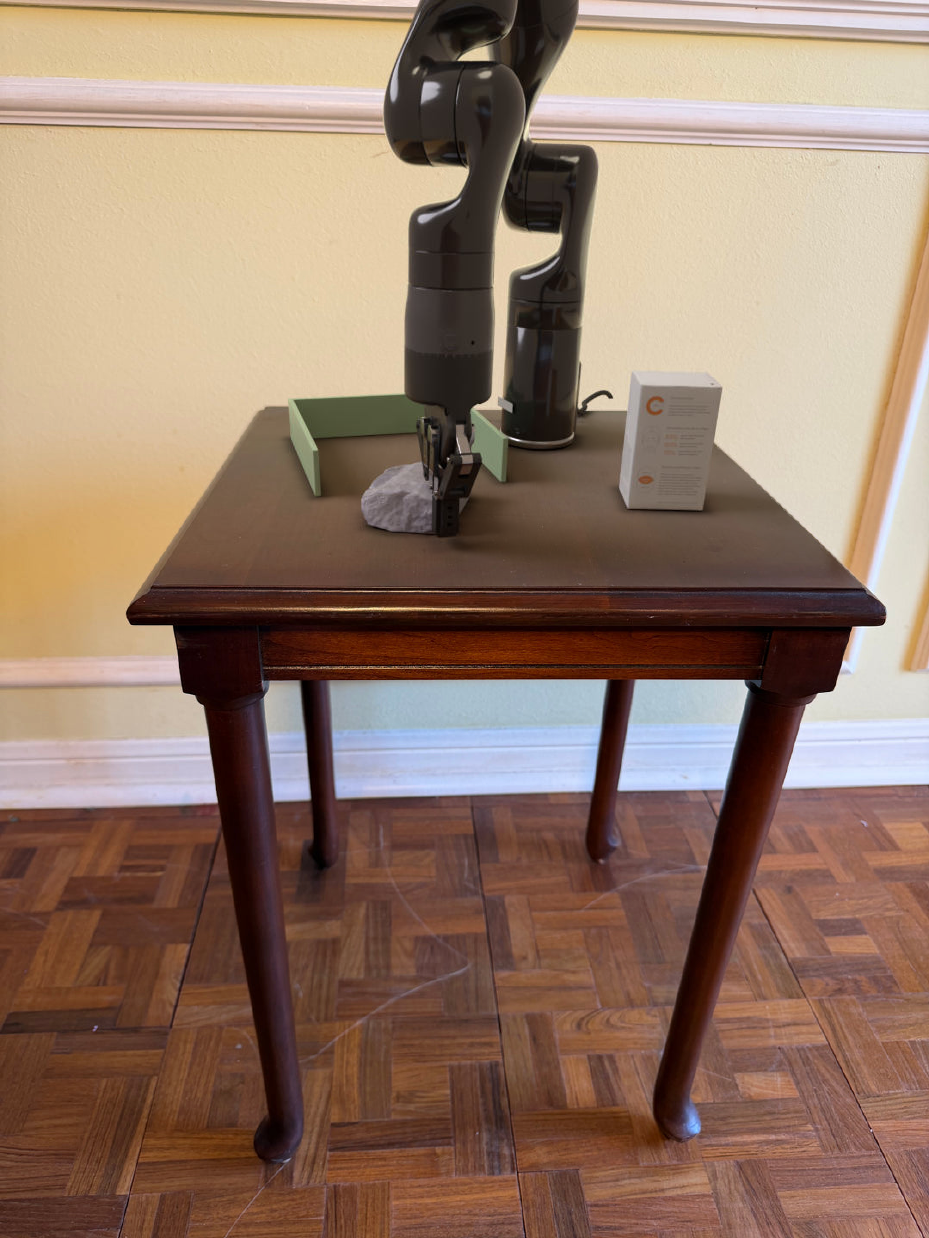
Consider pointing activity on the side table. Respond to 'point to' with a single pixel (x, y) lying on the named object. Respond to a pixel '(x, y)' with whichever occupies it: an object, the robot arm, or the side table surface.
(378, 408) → the green u-shaped fence
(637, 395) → the small box
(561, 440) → the robot arm
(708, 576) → the side table surface
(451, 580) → the side table surface
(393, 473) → the stone block
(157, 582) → the side table surface
